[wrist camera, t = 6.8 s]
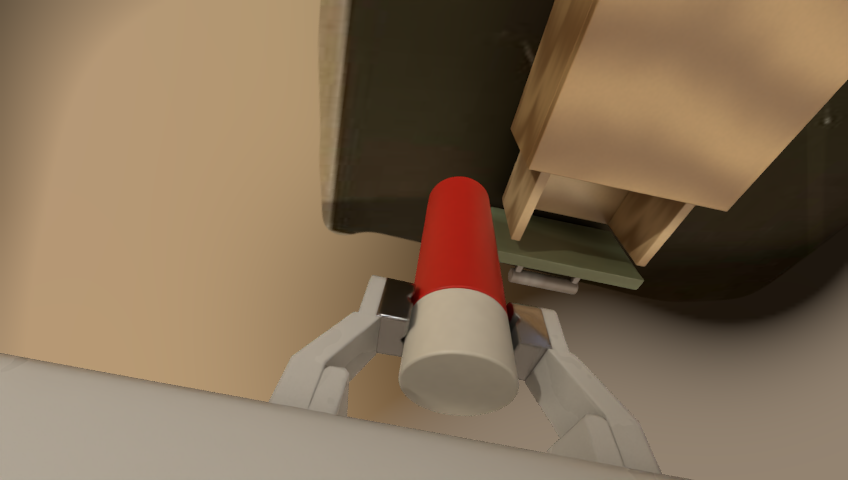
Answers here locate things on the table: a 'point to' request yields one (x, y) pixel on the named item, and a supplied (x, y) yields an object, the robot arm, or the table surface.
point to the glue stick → (459, 309)
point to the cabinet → (678, 91)
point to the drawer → (579, 230)
